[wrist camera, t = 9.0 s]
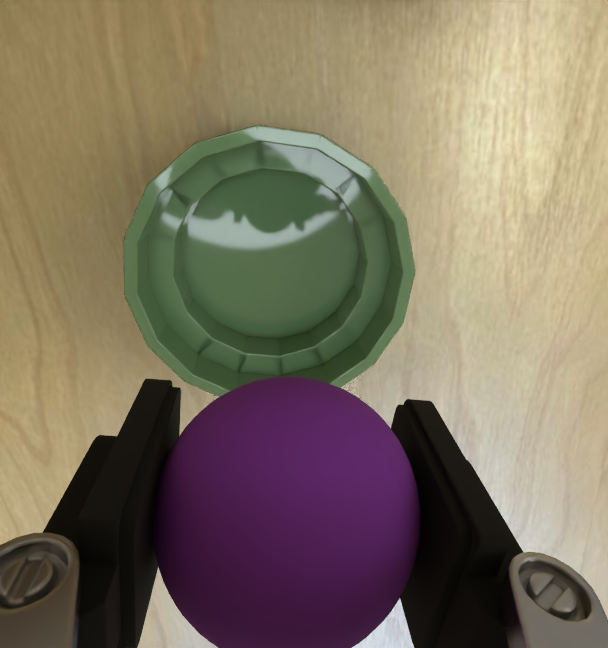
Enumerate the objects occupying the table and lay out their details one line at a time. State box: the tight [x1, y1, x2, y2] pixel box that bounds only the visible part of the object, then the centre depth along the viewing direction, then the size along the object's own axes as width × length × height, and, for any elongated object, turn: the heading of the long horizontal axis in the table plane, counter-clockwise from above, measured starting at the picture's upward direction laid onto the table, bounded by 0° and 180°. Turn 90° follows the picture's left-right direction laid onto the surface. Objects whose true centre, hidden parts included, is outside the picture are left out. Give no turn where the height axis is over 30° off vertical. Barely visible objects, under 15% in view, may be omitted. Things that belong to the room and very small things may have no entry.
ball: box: [153, 377, 421, 648], centre depth 9 cm, size 5×5×5 cm
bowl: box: [123, 125, 415, 397], centre depth 23 cm, size 13×13×5 cm
